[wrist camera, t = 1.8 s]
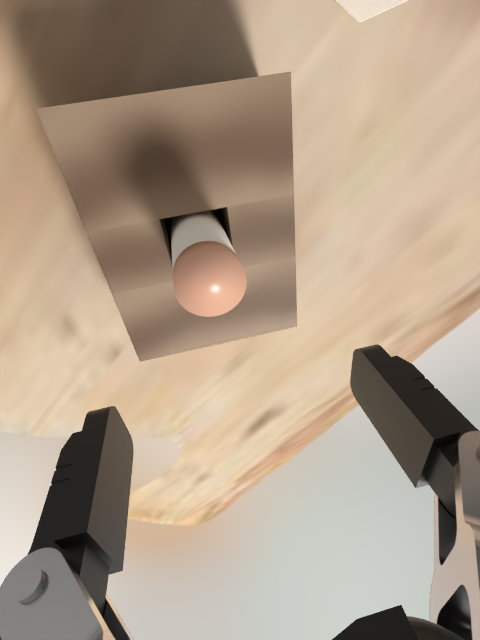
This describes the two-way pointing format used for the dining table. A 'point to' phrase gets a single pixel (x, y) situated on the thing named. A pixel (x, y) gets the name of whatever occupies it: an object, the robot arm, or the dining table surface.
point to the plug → (205, 265)
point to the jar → (367, 7)
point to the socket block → (185, 200)
